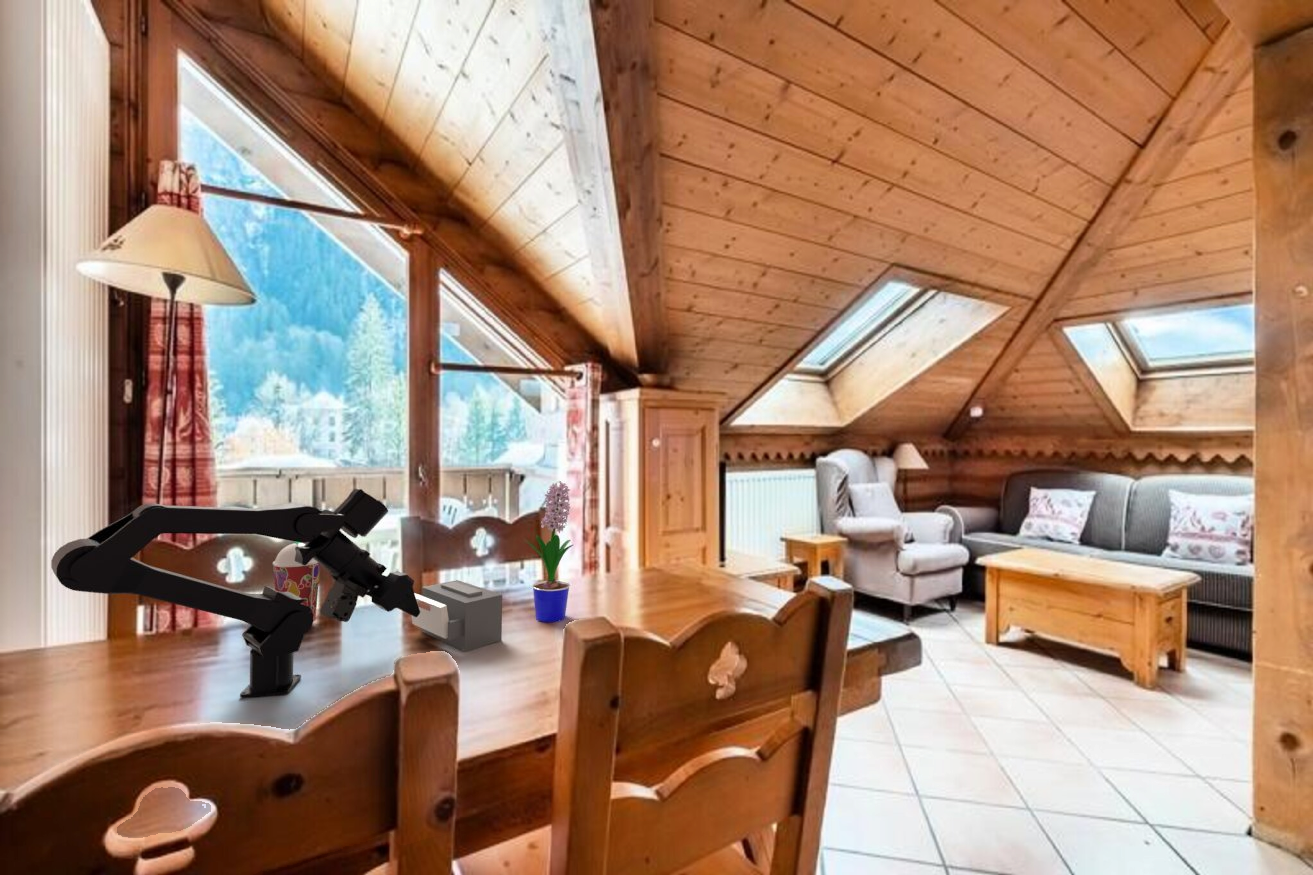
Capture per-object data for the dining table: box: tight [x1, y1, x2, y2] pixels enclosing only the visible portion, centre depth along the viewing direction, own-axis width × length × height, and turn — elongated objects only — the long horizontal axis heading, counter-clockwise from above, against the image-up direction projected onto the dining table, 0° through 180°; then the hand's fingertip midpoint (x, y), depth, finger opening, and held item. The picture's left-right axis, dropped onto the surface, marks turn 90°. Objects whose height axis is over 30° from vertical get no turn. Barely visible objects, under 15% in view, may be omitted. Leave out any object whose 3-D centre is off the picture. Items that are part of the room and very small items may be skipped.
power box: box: [420, 579, 503, 652], centre depth 118 cm, size 10×16×10 cm, turn 50°
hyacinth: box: [524, 480, 574, 623], centre depth 131 cm, size 9×10×30 cm
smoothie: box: [272, 541, 321, 628], centre depth 121 cm, size 8×8×20 cm
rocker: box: [410, 592, 449, 639], centre depth 113 cm, size 1×12×6 cm, turn 49°
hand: (405, 609), depth 110 cm, fingers open, 9 cm apart
